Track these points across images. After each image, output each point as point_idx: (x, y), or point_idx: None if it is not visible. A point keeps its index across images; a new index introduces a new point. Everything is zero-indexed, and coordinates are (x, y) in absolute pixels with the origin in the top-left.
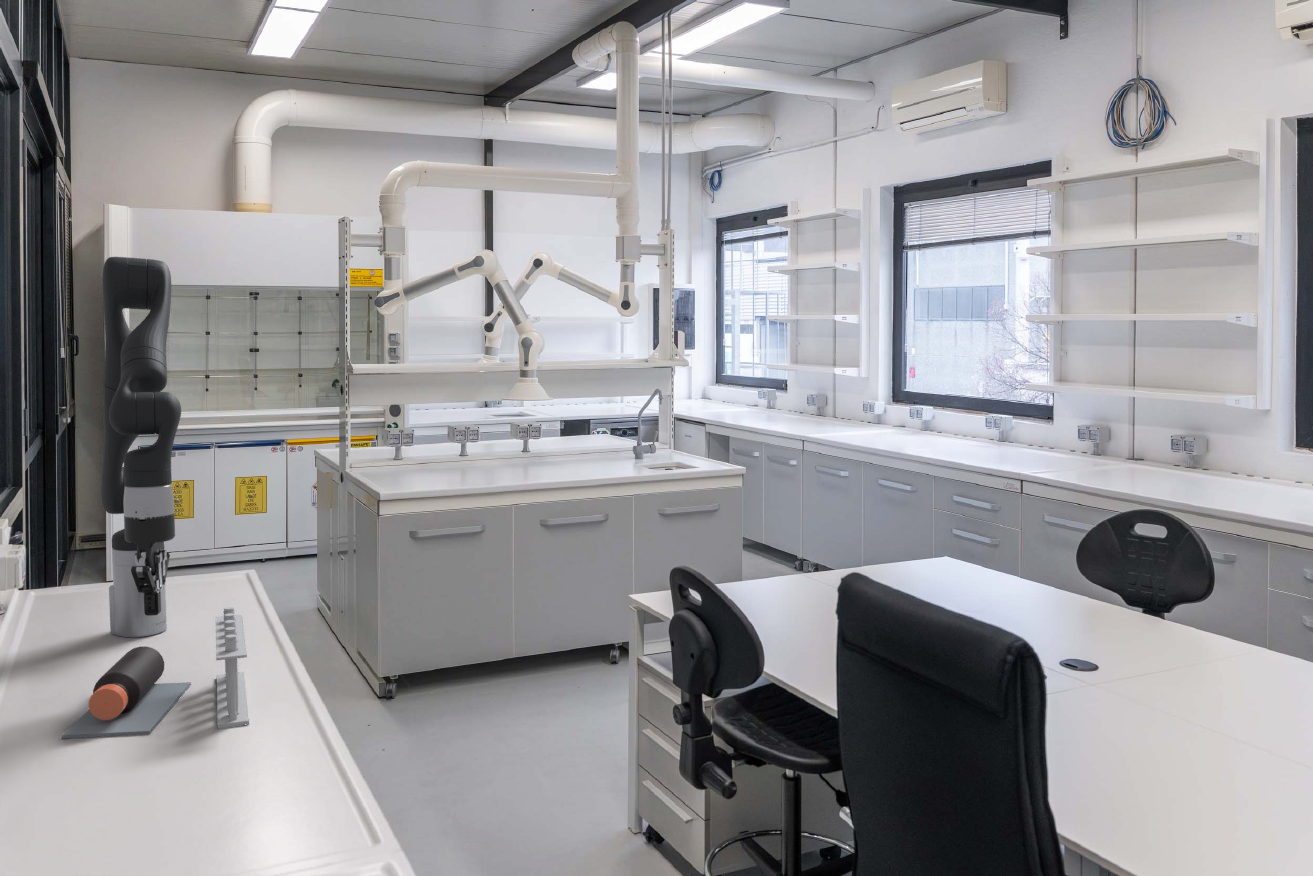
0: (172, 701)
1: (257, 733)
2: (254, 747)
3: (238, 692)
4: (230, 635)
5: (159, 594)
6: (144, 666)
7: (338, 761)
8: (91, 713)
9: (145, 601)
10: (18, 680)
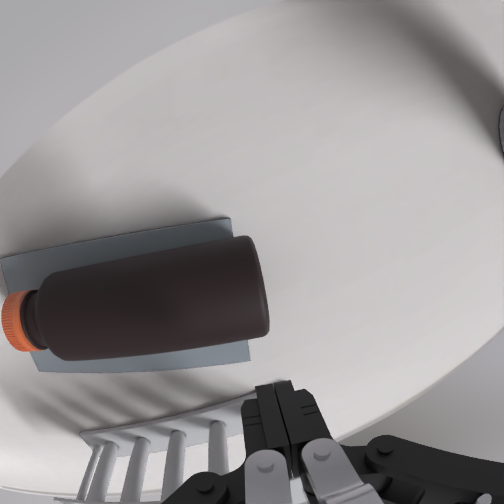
0: (143, 368)
1: (84, 460)
2: (57, 458)
3: (194, 438)
4: None
5: (292, 471)
6: (136, 354)
7: (63, 494)
8: (70, 257)
9: (244, 436)
10: (287, 8)
